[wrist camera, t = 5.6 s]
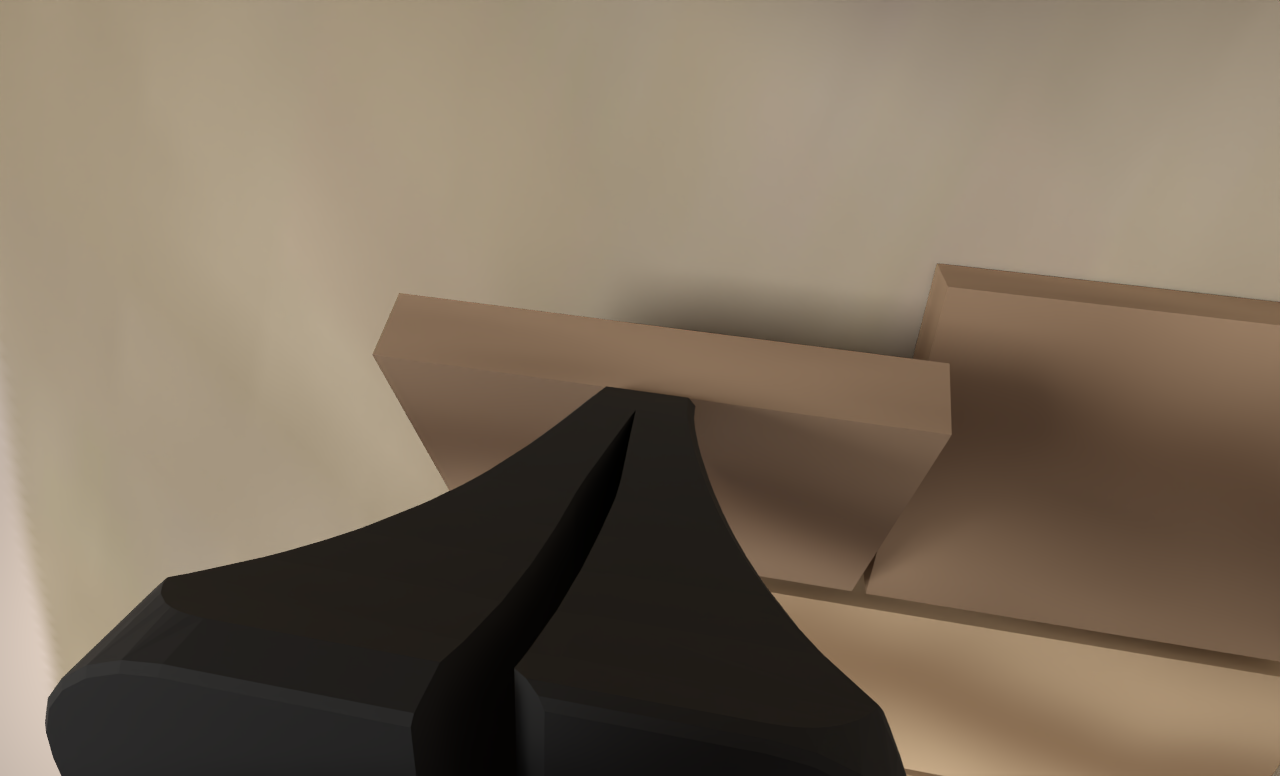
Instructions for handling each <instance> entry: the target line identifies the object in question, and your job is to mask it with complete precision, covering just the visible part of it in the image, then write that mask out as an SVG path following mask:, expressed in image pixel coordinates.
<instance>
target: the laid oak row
mask: <svg viewBox="0 0 1280 776" xmlns="http://www.w3.org/2000/svg"><path fill="white" fill-rule="evenodd" d="M759 577H760V578H761V580H762V581H763V583H764V584H765V586H766V587H767V588H768V589H769V591H770V592H771V593H772V595H773V596H774V597H775V598H776V600H777V601H778V602H779V603H780V605H781V606H782V607H783V609H784V610H785V611H786V612H787V614H788V615H789V616H790V618H791V619H792V620H793V621H794V623H795V624H796V625H797V627H798V628H799V629H800V630H801V631H802V632H803V633H804V635H805V636H806V637H807V638H808V639H809V640H810V641H811V642H812V643H813V644H814V645H815V646H816V648H817V649H818V650H819V651H820V652H821V653H822V654H823V655H824V656H825V657H826V658H828V659H829V660H830V661H831V662H832V663H833V664H834V665H835V666H836V667H837V668H839V669H840V670H841V671H842V672H843V673H844V674H845V675H846V676H847V677H848V678H850V679H851V680H852V681H853V682H854V683H855V684H856V685H857V686H858V687H859V688H861V689H862V690H863V691H864V692H865V693H866V694H867V695H868V696H869V697H870V698H872V699H873V700H874V701H875V702H876V703H877V704H878V705H879V706H880V707H881V708H882V710H883V711H884V713H885V716H886V718H887V721H888V723H889V726H890V729H891V731H892V734H893V737H894V740H895V742H896V745H897V748H898V751H899V753H900V756H901V760H902V763H903V766H904V769H905V772H906V775H907V776H1272V775H1273V773H1274V772H1275V770H1276V769H1277V767H1278V766H1279V765H1280V662H1279V661H1273V660H1267V659H1261V658H1255V657H1249V656H1243V655H1237V654H1231V653H1225V652H1218V651H1212V650H1206V649H1200V648H1194V647H1188V646H1182V645H1176V644H1170V643H1164V642H1158V641H1151V640H1145V639H1139V638H1133V637H1127V636H1121V635H1115V634H1109V633H1103V632H1097V631H1091V630H1084V629H1078V628H1072V627H1066V626H1060V625H1054V624H1048V623H1042V622H1036V621H1030V620H1024V619H1017V618H1011V617H1005V616H999V615H993V614H987V613H981V612H975V611H969V610H963V609H957V608H950V607H944V606H938V605H932V604H926V603H920V602H914V601H908V600H902V599H896V598H890V597H883V596H877V595H871V594H866V590H865V582H864V573H863V574H862V576H861V577H860V579H859V580H858V582H857V584H856V585H855V587H854V588H853V590H852V591H847V590H841V589H835V588H829V587H823V586H816V585H810V584H804V583H798V582H792V581H786V580H780V579H774V578H768V577H762V576H759Z"/></svg>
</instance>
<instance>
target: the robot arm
mask: <svg viewBox="0 0 1280 776" xmlns="http://www.w3.org/2000/svg"><path fill="white" fill-rule="evenodd" d="M694 415H695V405H694V404H693V402H692V401H691V400H690V399H689V398H688V397H680V396H673V395H666V394H659V393H651V392H644V391H637V390H630V389H622V388H615V387H608V386H606V387H605V388H603V389H602V390H601V391H599V392H598V393H597V394H595V395H594V396H592V397H591V398H590V399H589V400H587V401H586V402H585V403H583V404H582V405H581V406H580V407H578V408H577V409H576V410H574V411H573V412H572V413H571V414H569V415H568V416H567V417H565V418H564V419H563V420H562V421H560V422H559V423H558V424H556V425H555V426H554V427H552V428H551V429H549V430H548V431H547V432H545V433H544V434H543V435H541V436H540V437H539V438H537V439H536V440H534V441H533V442H532V443H530V444H529V445H527V446H526V447H524V448H523V449H521V450H520V451H518V452H516V453H515V454H513V455H512V456H510V457H509V458H507V459H505V460H504V461H502V462H501V463H499V464H498V465H496V466H495V467H493V468H491V469H490V470H488V471H486V472H485V473H483V474H481V475H479V476H477V477H476V478H474V479H472V480H470V481H468V482H466V483H465V484H463V485H461V486H459V487H457V488H455V489H453V490H451V491H448V492H446V493H444V494H442V495H440V496H438V497H436V498H434V499H432V500H430V501H428V502H426V503H423V504H421V505H419V506H416V507H414V508H411V509H408V510H406V511H403V512H401V513H398V514H396V515H393V516H391V517H388V518H386V519H383V520H381V521H378V522H376V523H373V524H371V525H368V526H366V527H363V528H360V529H357V530H354V531H351V532H348V533H345V534H342V535H339V536H336V537H333V538H330V539H327V540H324V541H320V542H317V543H313V544H310V545H306V546H303V547H299V548H296V549H293V550H289V551H285V552H282V553H278V554H274V555H270V556H266V557H262V558H258V559H253V560H248V561H244V562H239V563H235V564H230V565H226V566H221V567H216V568H212V569H207V570H203V571H198V572H193V573H189V574H183V575H178V576H172V577H167V578H166V579H165V580H164V581H163V582H162V583H161V584H160V585H158V586H157V587H156V588H155V589H154V590H153V591H152V592H151V593H150V594H149V595H148V596H147V597H146V598H145V599H144V600H143V601H142V602H141V603H140V604H138V605H137V606H136V607H135V608H134V609H133V610H132V611H131V612H130V613H129V614H128V615H127V616H126V617H125V618H124V619H123V620H122V621H121V622H120V623H119V624H118V625H117V626H116V627H115V628H114V629H113V630H111V631H110V632H109V633H108V634H107V635H106V636H105V637H104V638H103V639H102V640H101V641H100V642H99V643H98V644H97V645H96V646H95V647H94V648H93V649H92V650H91V651H90V652H89V653H88V654H87V655H86V656H85V657H83V658H82V659H81V660H80V661H79V662H78V663H77V664H76V665H75V666H74V667H73V668H72V669H71V670H70V671H69V672H68V673H67V674H66V675H65V676H64V677H63V678H62V679H61V680H60V682H59V683H58V685H57V686H56V687H55V689H54V690H53V692H52V693H51V694H50V696H49V697H48V703H47V711H46V720H45V726H46V734H47V737H48V740H49V744H50V748H51V751H52V755H53V758H54V760H55V763H56V765H57V767H58V769H59V771H60V774H61V776H907V775H906V772H905V769H904V766H903V763H902V760H901V756H900V753H899V751H898V748H897V745H896V742H895V740H894V737H893V734H892V731H891V729H890V726H889V723H888V721H887V718H886V716H885V713H884V711H883V710H882V708H881V707H880V706H879V705H878V704H877V703H876V702H875V701H874V700H873V699H872V698H870V697H869V696H868V695H867V694H866V693H865V692H864V691H863V690H862V689H861V688H859V687H858V686H857V685H856V684H855V683H854V682H853V681H852V680H851V679H850V678H848V677H847V676H846V675H845V674H844V673H843V672H842V671H841V670H840V669H839V668H837V667H836V666H835V665H834V664H833V663H832V662H831V661H830V660H829V659H828V658H826V657H825V656H824V655H823V654H822V653H821V652H820V651H819V650H818V649H817V648H816V646H815V645H814V644H813V643H812V642H811V641H810V640H809V639H808V638H807V637H806V636H805V635H804V633H803V632H802V631H801V630H800V629H799V628H798V627H797V625H796V624H795V623H794V621H793V620H792V619H791V618H790V616H789V615H788V614H787V612H786V611H785V610H784V609H783V607H782V606H781V605H780V603H779V602H778V601H777V600H776V598H775V597H774V596H773V595H772V593H771V592H770V591H769V589H768V588H767V587H766V586H765V584H764V583H763V581H762V580H761V578H760V577H759V575H758V574H757V572H756V570H755V569H754V567H753V566H752V564H751V563H750V561H749V560H748V558H747V557H746V555H745V553H744V551H743V550H742V548H741V546H740V544H739V543H738V541H737V539H736V538H735V536H734V534H733V532H732V530H731V528H730V526H729V524H728V522H727V520H726V518H725V516H724V514H723V512H722V509H721V507H720V505H719V502H718V500H717V498H716V496H715V493H714V491H713V488H712V486H711V483H710V480H709V478H708V475H707V471H706V468H705V465H704V462H703V459H702V456H701V453H700V449H699V445H698V440H697V436H696V431H695V423H694Z"/></svg>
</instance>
